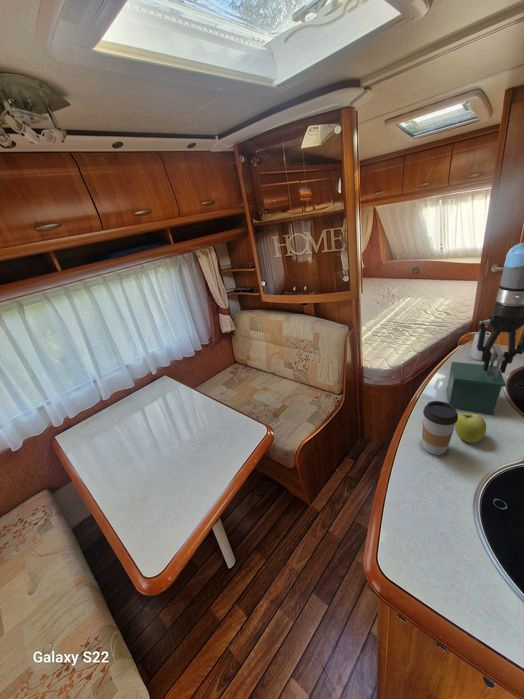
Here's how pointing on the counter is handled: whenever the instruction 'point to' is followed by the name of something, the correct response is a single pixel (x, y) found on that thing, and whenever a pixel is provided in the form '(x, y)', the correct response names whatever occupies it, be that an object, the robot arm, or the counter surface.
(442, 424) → the coffee cup
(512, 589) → the counter surface
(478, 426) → the apple
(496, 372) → the bin lid
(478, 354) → the beverage can
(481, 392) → the waste bin
